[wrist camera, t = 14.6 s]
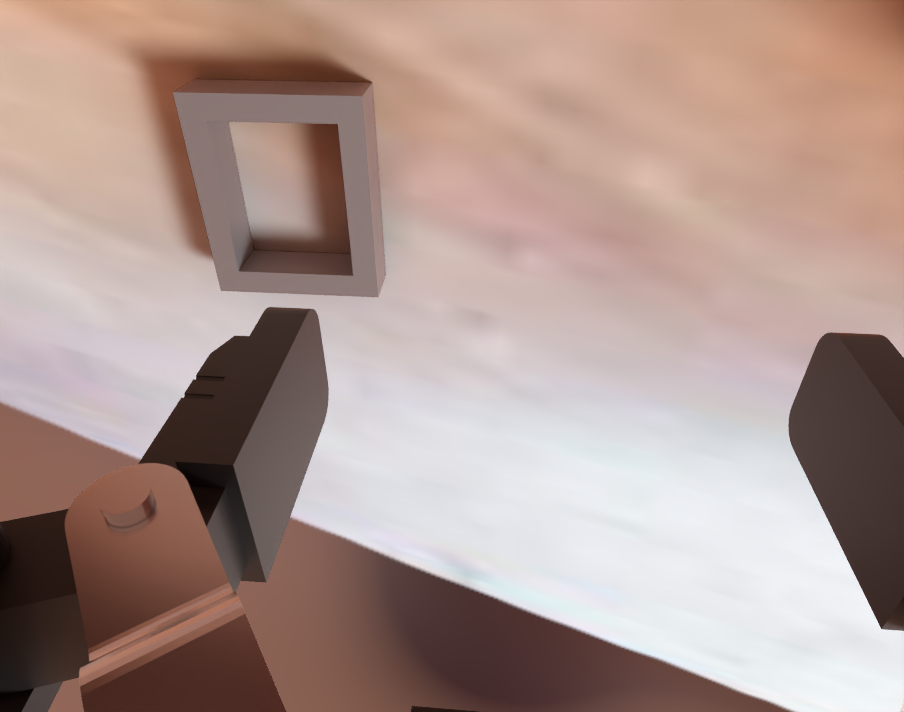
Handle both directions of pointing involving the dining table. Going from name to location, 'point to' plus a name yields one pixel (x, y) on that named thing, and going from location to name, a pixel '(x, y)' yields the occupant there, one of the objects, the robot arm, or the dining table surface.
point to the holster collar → (222, 199)
